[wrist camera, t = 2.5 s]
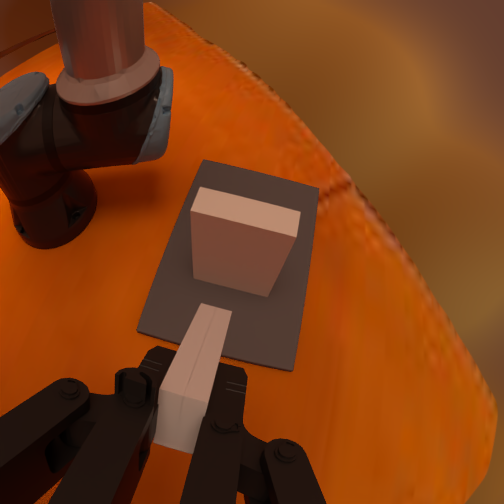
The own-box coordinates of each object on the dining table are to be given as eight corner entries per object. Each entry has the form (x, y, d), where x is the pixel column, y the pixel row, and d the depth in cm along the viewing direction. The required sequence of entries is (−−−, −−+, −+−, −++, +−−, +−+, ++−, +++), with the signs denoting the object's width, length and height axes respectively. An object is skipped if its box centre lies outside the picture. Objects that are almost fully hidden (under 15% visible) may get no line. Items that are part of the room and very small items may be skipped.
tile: (267, 297, 43) (296, 237, 30) (193, 278, 43) (190, 210, 30) (271, 275, 44) (301, 209, 31) (200, 257, 44) (200, 184, 31)
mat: (290, 371, 39) (292, 370, 38) (137, 332, 39) (136, 330, 38) (317, 192, 54) (319, 188, 53) (203, 163, 54) (203, 159, 53)
